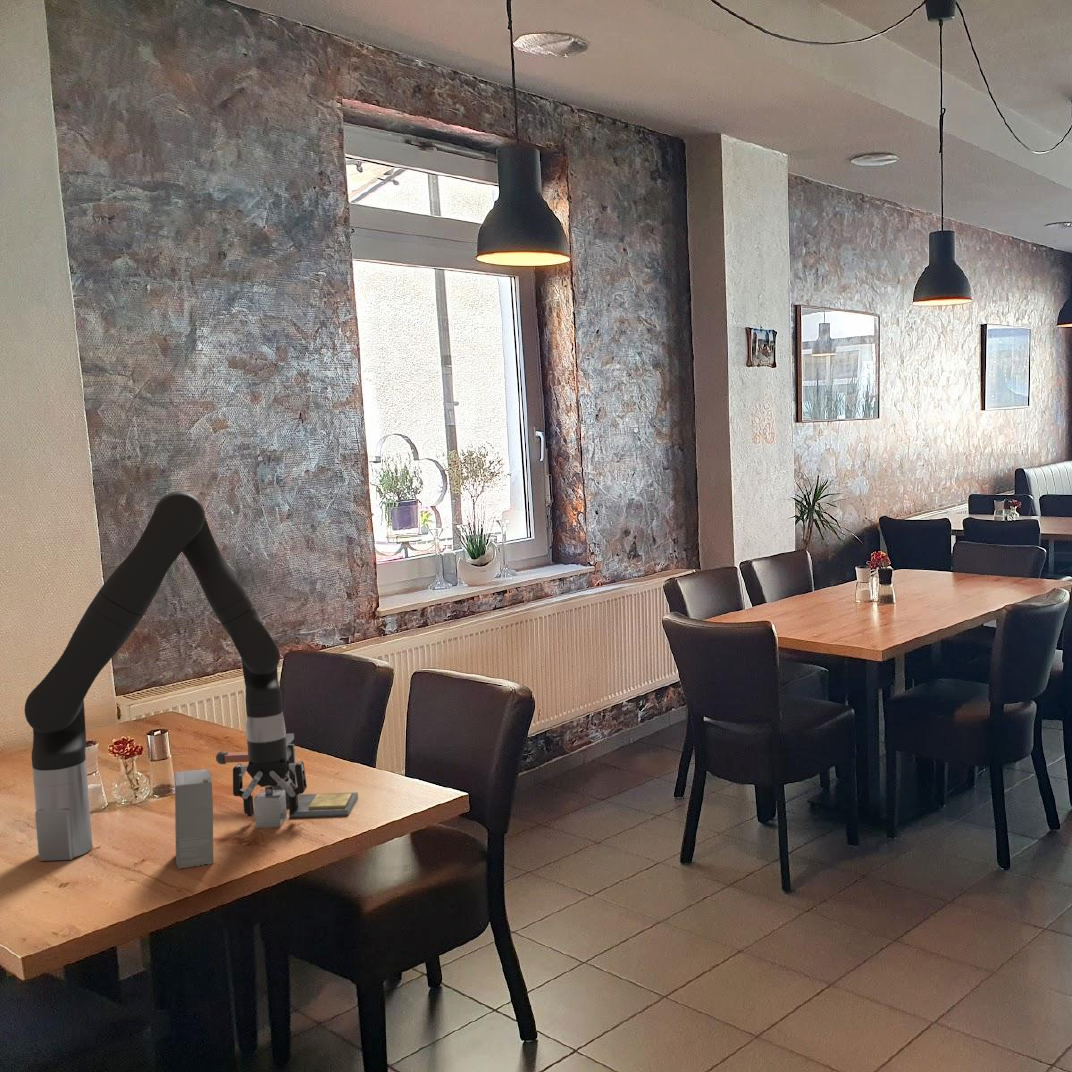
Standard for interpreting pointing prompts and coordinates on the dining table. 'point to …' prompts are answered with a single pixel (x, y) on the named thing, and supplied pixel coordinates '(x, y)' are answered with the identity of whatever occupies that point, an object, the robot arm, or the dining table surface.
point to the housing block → (270, 808)
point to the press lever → (237, 756)
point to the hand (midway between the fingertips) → (271, 814)
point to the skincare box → (193, 818)
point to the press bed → (317, 796)
